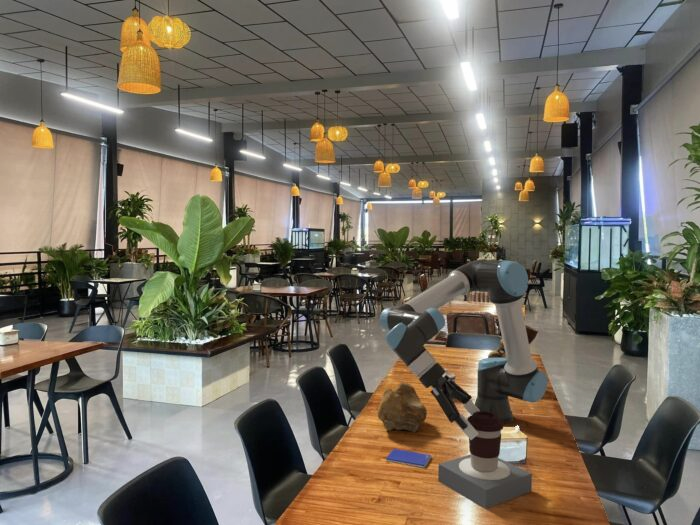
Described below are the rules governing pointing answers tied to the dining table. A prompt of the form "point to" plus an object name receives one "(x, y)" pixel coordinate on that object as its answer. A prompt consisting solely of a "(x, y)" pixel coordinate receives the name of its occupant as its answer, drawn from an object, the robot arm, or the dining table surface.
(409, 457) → the hard drive
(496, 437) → the coffee cup
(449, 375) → the teacup with lid
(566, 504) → the dining table surface
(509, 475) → the slate stand
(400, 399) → the rough brown rock
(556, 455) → the dining table surface
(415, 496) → the dining table surface
